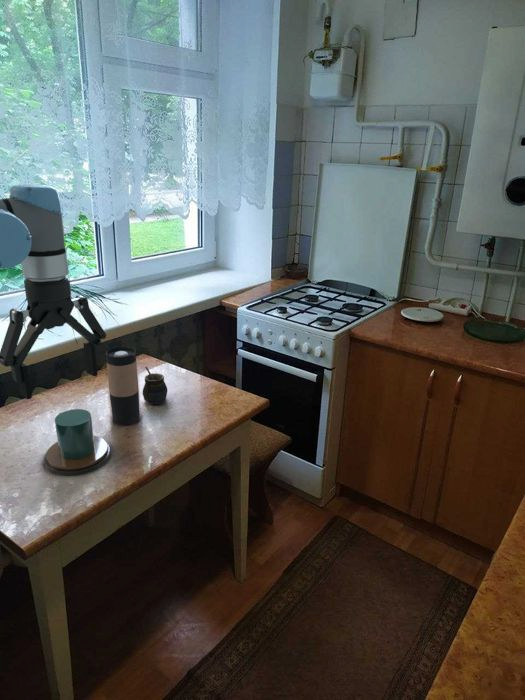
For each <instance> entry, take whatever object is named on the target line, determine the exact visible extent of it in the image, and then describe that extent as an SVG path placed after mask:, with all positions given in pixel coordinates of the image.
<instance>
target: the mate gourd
mask: <svg viewBox="0 0 525 700" xmlns="http://www.w3.org/2000/svg"><path fill="white" fill-rule="evenodd" d="M145 370H146V371H147V373H148V374H147V375H145V376H144V385H143V388H142V397H143V400H144V401H145V402H147V404H149V405H153V406H154V405H161V404H162V403H164V402H165V401H166V399H167V396H168V386H167V384H166V382H165V376H164V375H163V374H162V373H157V372H154V373H153V372H152V373H151V372H150V370H149V368H148V366H145Z"/></svg>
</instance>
